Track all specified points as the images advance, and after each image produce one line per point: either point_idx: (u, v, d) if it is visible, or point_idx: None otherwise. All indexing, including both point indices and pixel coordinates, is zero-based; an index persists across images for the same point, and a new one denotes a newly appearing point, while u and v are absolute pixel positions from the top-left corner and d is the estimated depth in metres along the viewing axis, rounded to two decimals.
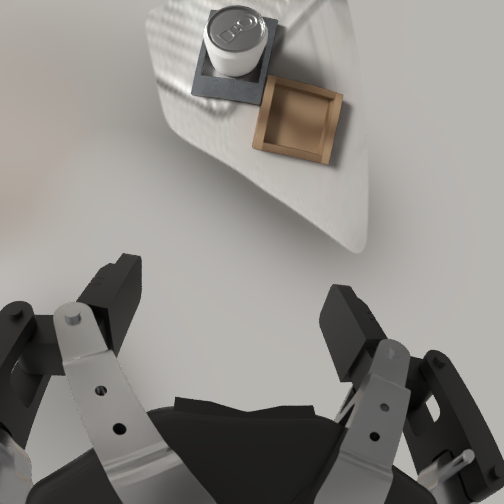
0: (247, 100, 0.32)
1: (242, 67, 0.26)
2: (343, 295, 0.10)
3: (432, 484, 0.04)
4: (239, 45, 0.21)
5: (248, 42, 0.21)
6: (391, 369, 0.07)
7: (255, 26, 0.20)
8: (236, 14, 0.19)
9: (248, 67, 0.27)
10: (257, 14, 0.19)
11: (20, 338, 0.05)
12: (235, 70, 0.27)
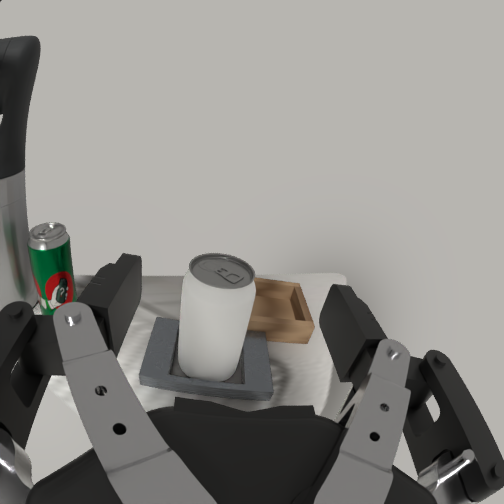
0: (265, 341, 0.31)
1: None
2: (343, 295, 0.10)
3: (431, 485, 0.04)
4: (242, 271, 0.25)
5: (237, 266, 0.25)
6: (391, 369, 0.07)
7: (215, 260, 0.25)
8: (201, 270, 0.23)
9: None
10: (200, 257, 0.25)
11: (20, 337, 0.05)
12: None
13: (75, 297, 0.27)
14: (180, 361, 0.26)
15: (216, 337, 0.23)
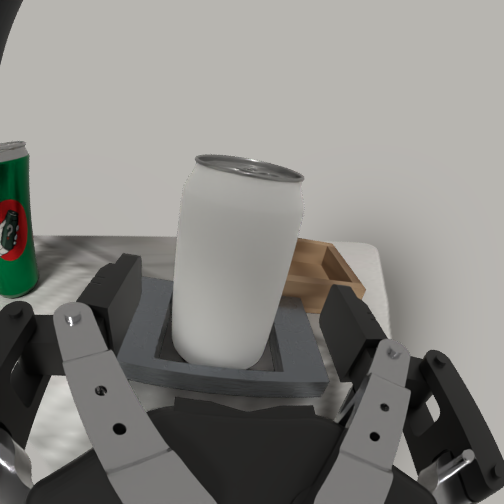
0: (302, 309, 0.22)
1: None
2: (343, 295, 0.10)
3: (431, 485, 0.04)
4: (281, 175, 0.15)
5: (270, 171, 0.15)
6: (391, 369, 0.07)
7: (235, 163, 0.15)
8: None
9: None
10: (211, 157, 0.15)
11: (20, 337, 0.05)
12: None
13: (30, 246, 0.17)
14: (175, 337, 0.16)
15: (240, 282, 0.13)
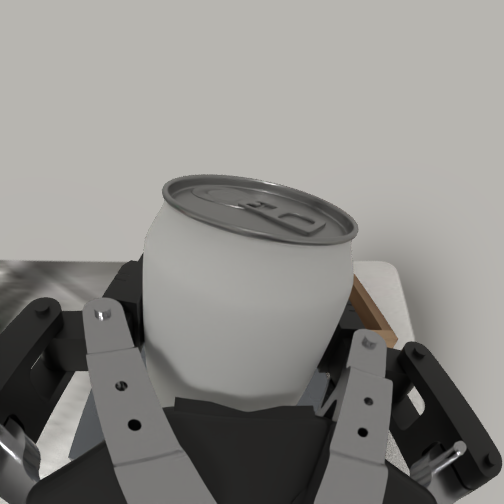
0: (323, 373, 0.16)
1: None
2: None
3: (425, 479, 0.04)
4: (313, 212, 0.09)
5: (294, 203, 0.10)
6: (364, 358, 0.07)
7: (236, 190, 0.09)
8: (198, 201, 0.08)
9: None
10: (197, 179, 0.09)
11: (44, 335, 0.05)
12: None
13: None
14: None
15: (245, 404, 0.07)
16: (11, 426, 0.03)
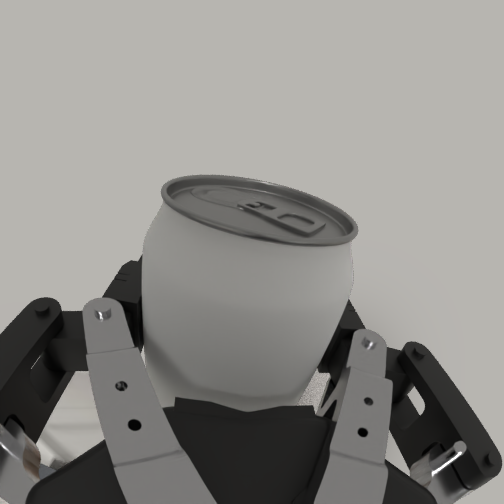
0: None
1: None
2: None
3: (425, 479, 0.04)
4: (313, 213, 0.09)
5: (294, 203, 0.09)
6: (364, 358, 0.07)
7: (236, 190, 0.09)
8: (197, 202, 0.07)
9: None
10: (196, 179, 0.09)
11: (44, 335, 0.05)
12: None
13: None
14: None
15: (244, 405, 0.07)
16: (11, 426, 0.03)
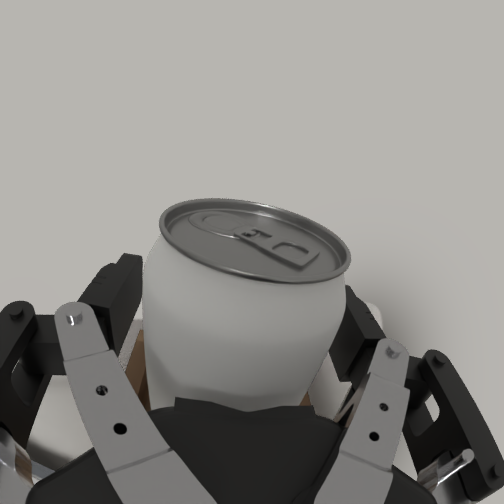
0: None
1: None
2: None
3: (431, 484, 0.04)
4: (308, 238, 0.09)
5: (290, 227, 0.10)
6: (390, 368, 0.07)
7: (232, 214, 0.10)
8: (195, 232, 0.08)
9: None
10: (194, 204, 0.09)
11: (21, 337, 0.05)
12: None
13: None
14: None
15: None
16: (0, 433, 0.03)
